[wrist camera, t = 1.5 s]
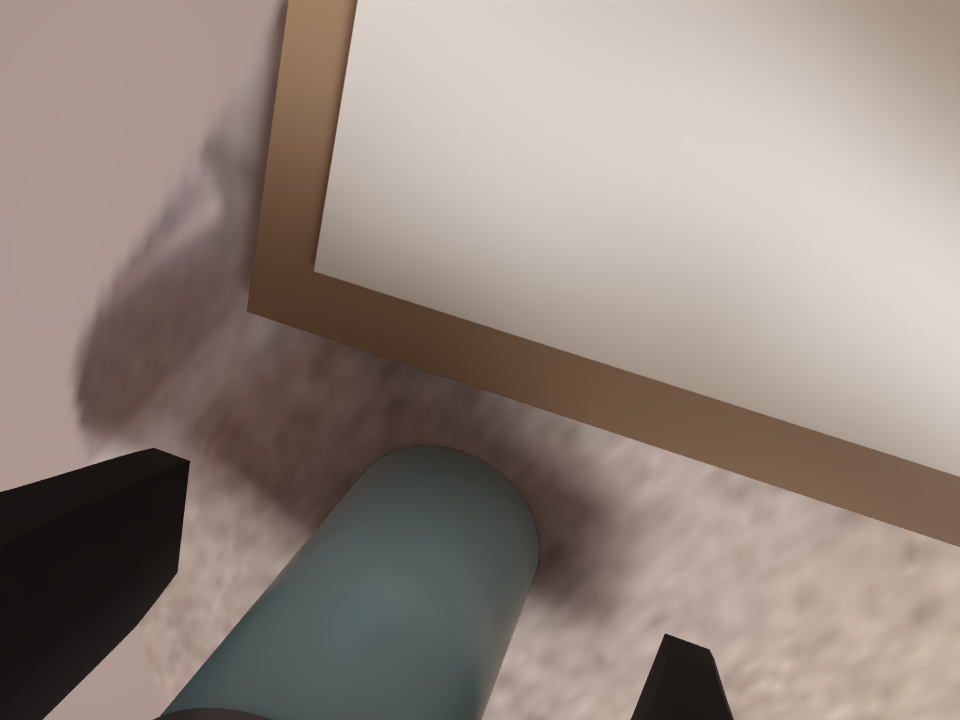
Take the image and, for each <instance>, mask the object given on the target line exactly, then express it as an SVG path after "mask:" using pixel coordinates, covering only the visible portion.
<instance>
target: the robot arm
mask: <svg viewBox="0 0 960 720" xmlns="http://www.w3.org/2000/svg"><path fill="white" fill-rule="evenodd" d="M189 465H190V461H188V460H186V459H183V458H180V457H177V456H175V455H172V454H169V453H166V452H164V451H161V450H158V449H155V448H151V449H147V450H142V451H138V452H134V453H131V454H127V455H124V456H120V457H117V458H113V459H110V460H107V461H103V462H100V463H97V464H94V465H90V466H87V467H84V468H81V469H78V470H74V471H71V472H68V473H65V474H61V475H58V476H54V477H51V478H48V479H44V480H41V481H38V482H34V483H31V484H28V485H24V486H21V487H18V488H14V489H10V490H6V491H3V492H0V720H43V719H44V718H45V717H46V716H47V714H48V713H50V712H51V711H52V710H53V709H54V708H55V707H56V706H57V705H58V704H59V703H60V702H61V701H62V700H63V699H64V698H65V697H66V696H67V695H68V694H69V693H70V692H71V691H72V690H73V689H74V688H75V687H76V686H77V685H78V684H79V683H80V682H81V681H82V680H83V679H84V678H85V677H86V676H87V675H88V674H89V673H90V672H91V671H92V670H93V669H94V668H95V667H96V666H97V665H98V664H99V663H100V662H101V661H102V660H103V659H104V658H105V657H106V656H107V655H108V654H109V653H110V652H111V651H112V650H113V649H114V648H115V647H116V646H117V645H118V644H119V643H120V642H121V641H122V640H123V639H124V638H125V637H126V636H127V635H128V634H129V633H130V632H131V631H132V630H133V629H134V628H135V627H136V626H137V624H138V623H139V622H140V621H141V619H142V618H143V617H144V616H145V614H146V613H147V612H148V611H149V609H150V608H151V607H152V606H153V604H154V603H155V602H156V600H157V599H158V598H159V596H160V595H161V594H162V592H163V591H164V590H165V588H166V587H167V586H168V584H169V583H170V582H171V580H172V579H173V578H174V576H175V575H176V574H177V571H178V562H179V554H180V545H181V536H182V527H183V518H184V509H185V501H186V492H187V483H188V474H189ZM631 720H734V719H733V716H732V713H731V710H730V707H729V704H728V701H727V698H726V695H725V692H724V689H723V686H722V683H721V680H720V676H719V673H718V670H717V666H716V663H715V660H714V658H713V656H712V654H711V652H710V650H709V649H707V648H704V647H701V646H698V645H696V644H693V643H690V642H687V641H685V640H682V639H679V638H676V637H673V636H671V635H668V634H665V635H664V637H663V640H662V642H661V645H660V647H659V650H658V652H657V655H656V658H655V660H654V663H653V665H652V668H651V670H650V673H649V675H648V678H647V680H646V683H645V685H644V688H643V690H642V693H641V695H640V698H639V700H638V703H637V706H636V708H635V711H634V713H633V716H632V718H631Z"/></svg>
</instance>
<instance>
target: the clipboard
mask: <svg viewBox="0 0 960 720" xmlns="http://www.w3.org/2000/svg"><path fill="white" fill-rule="evenodd" d="M247 312H250V313H253V314H256V315H259V316H262V317H265V318H268V319H271V320H274V321H277V322H280V323H283V324H286V325H289V326H292V327H295V328H298V329H301V330H304V331H307V332H310V333H313V334H316V335H319V336H322V337H325V338H328V339H331V340H334V341H337V342H341V343H344V344H347V345H350V346H353V347H356V348H359V349H362V350H365V351H368V352H371V353H374V354H377V355H380V356H383V357H386V358H389V359H392V360H395V361H398V362H401V363H404V364H407V365H410V366H413V367H416V368H419V369H422V370H425V371H428V372H431V373H434V374H437V375H440V376H443V377H447V378H450V379H453V380H456V381H459V382H462V383H465V384H468V385H471V386H474V387H477V388H480V389H483V390H486V391H489V392H492V393H495V394H498V395H501V396H504V397H507V398H510V399H513V400H516V401H519V402H522V403H525V404H528V405H531V406H534V407H537V408H540V409H543V410H546V411H550V412H553V413H556V414H559V415H562V416H565V417H568V418H571V419H574V420H577V421H580V422H583V423H586V424H589V425H592V426H595V427H598V428H601V429H604V430H607V431H610V432H613V433H616V434H619V435H622V436H625V437H628V438H631V439H634V440H637V441H640V442H643V443H646V444H649V445H652V446H656V447H659V448H662V449H665V450H668V451H671V452H674V453H677V454H680V455H683V456H686V457H689V458H692V459H695V460H698V461H701V462H704V463H707V464H710V465H713V466H716V467H719V468H722V469H725V470H728V471H731V472H734V473H737V474H740V475H743V476H746V477H749V478H752V479H755V480H759V481H762V482H765V483H768V484H771V485H774V486H777V487H780V488H783V489H786V490H789V491H792V492H795V493H798V494H801V495H804V496H807V497H810V498H813V499H816V500H819V501H822V502H825V503H828V504H831V505H834V506H837V507H840V508H843V509H846V510H849V511H852V512H855V513H858V514H861V515H865V516H868V517H871V518H874V519H877V520H880V521H883V522H886V523H889V524H892V525H895V526H898V527H901V528H904V529H907V530H910V531H913V532H916V533H919V534H922V535H925V536H928V537H931V538H934V539H937V540H940V541H943V542H946V543H949V544H952V545H955V546H958V547H960V0H288V8H287V15H286V23H285V30H284V38H283V45H282V53H281V60H280V68H279V75H278V83H277V90H276V98H275V105H274V113H273V120H272V128H271V135H270V143H269V150H268V158H267V165H266V173H265V180H264V188H263V195H262V203H261V210H260V218H259V225H258V233H257V240H256V248H255V255H254V263H253V270H252V278H251V286H250V293H249V301H248V308H247Z"/></svg>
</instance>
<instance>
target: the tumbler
mask: <svg viewBox="0 0 960 720" xmlns="http://www.w3.org/2000/svg"><path fill="white" fill-rule="evenodd" d="M538 561H539V538H538V533H537V529H536V524H535V522H534V519H533V516H532V514H531V512H530V510H529V508H528V506H527V504H526V502H525V501H524V499H523V498H522V496H521V495H520V493H519V492H518V491H517V489H516V488H515V487H514V486H513V485H512V484H511V483H510V482H509V481H508V480H507V479H506V478H505V477H504V476H503V475H502V474H501V473H500V472H498V471H497V470H496V469H494V468H493V467H491V466H490V465H488V464H487V463H485V462H483V461H482V460H480V459H478V458H476V457H474V456H471V455H469V454H467V453H464V452H461V451H458V450H454V449H451V448H445V447H439V446H416V447H409V448H405V449H401V450H397V451H395V452H392V453H390V454H388V455H386V456H384V457H382V458H381V459H379V460H377V461H376V462H375V463H374V464H372V465H371V466H370V467H369V468H368V469H367V470H366V471H365V472H364V473H363V474H362V476H361V477H360V478H359V479H358V480H357V482H356V483H355V484H354V485H353V486H352V488H351V489H350V490H349V491H348V492H347V494H346V495H345V496H344V497H343V498H342V500H341V501H340V502H339V503H338V504H337V506H336V507H335V508H334V509H333V510H332V511H331V513H330V514H329V515H328V516H327V517H326V519H325V520H324V521H323V522H322V523H321V525H320V526H319V527H318V528H317V529H316V531H315V532H314V533H313V534H312V535H311V537H310V538H309V539H308V540H307V541H306V543H305V544H304V545H303V546H302V547H301V549H300V550H299V551H298V552H297V553H296V554H295V556H294V557H293V558H292V559H291V560H290V562H289V563H288V564H287V565H286V566H285V568H284V569H283V570H282V571H281V572H280V574H279V575H278V576H277V577H276V578H275V580H274V581H273V582H272V583H271V584H270V586H269V587H268V588H267V589H266V590H265V592H264V593H263V594H262V595H261V596H260V597H259V599H258V600H257V601H256V602H255V603H254V605H253V606H252V607H251V608H250V609H249V611H248V612H247V613H246V614H245V615H244V617H243V618H242V619H241V620H240V621H239V623H238V624H237V625H236V626H235V627H234V629H233V630H232V631H231V632H230V633H229V635H228V636H227V637H226V638H225V639H224V640H223V642H222V643H221V644H220V645H219V646H218V648H217V649H216V650H215V651H214V652H213V654H212V655H211V656H210V657H209V658H208V660H207V661H206V662H205V663H204V664H203V666H202V667H201V668H200V669H199V670H198V672H197V673H196V674H195V675H194V676H193V678H192V679H191V680H190V681H189V682H188V683H187V685H186V686H185V687H184V688H183V689H182V691H181V692H180V693H179V694H178V695H177V697H176V698H175V699H174V700H173V701H172V703H171V704H170V705H169V706H168V707H167V709H166V710H165V711H164V712H163V713H162V715H161V716H160V717H158V718H156V719H154V720H481V719H482V716H483V713H484V711H485V708H486V705H487V703H488V700H489V697H490V695H491V692H492V689H493V686H494V684H495V681H496V678H497V676H498V673H499V670H500V668H501V665H502V662H503V659H504V657H505V654H506V651H507V649H508V646H509V643H510V641H511V638H512V635H513V632H514V630H515V627H516V624H517V622H518V619H519V616H520V614H521V611H522V608H523V605H524V603H525V600H526V597H527V595H528V592H529V589H530V586H531V584H532V581H533V578H534V576H535V573H536V569H537V565H538Z"/></svg>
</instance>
